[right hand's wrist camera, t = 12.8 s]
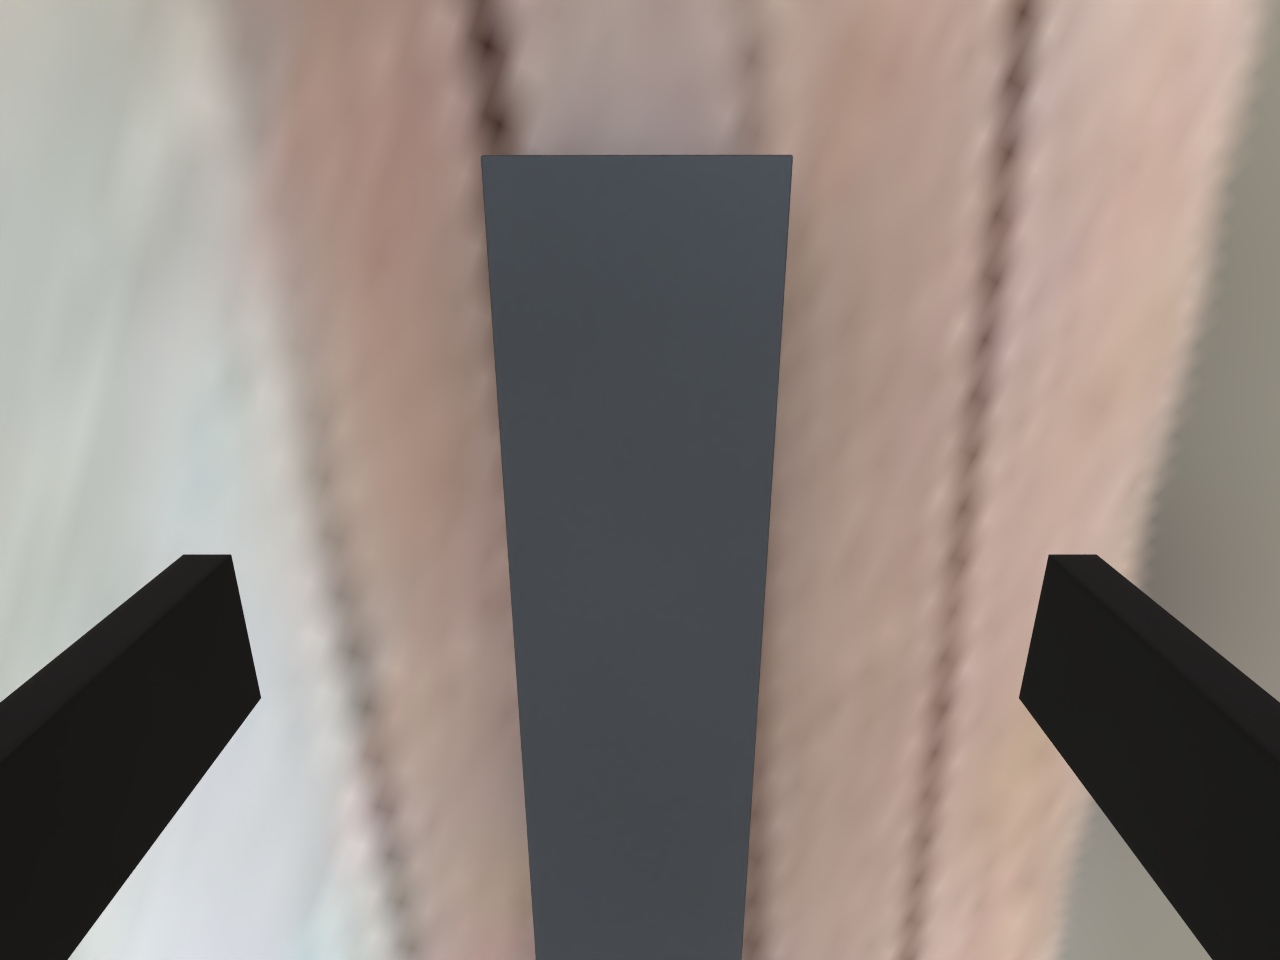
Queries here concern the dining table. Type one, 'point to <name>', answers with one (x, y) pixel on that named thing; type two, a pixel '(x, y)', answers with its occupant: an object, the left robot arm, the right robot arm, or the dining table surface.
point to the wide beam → (637, 529)
